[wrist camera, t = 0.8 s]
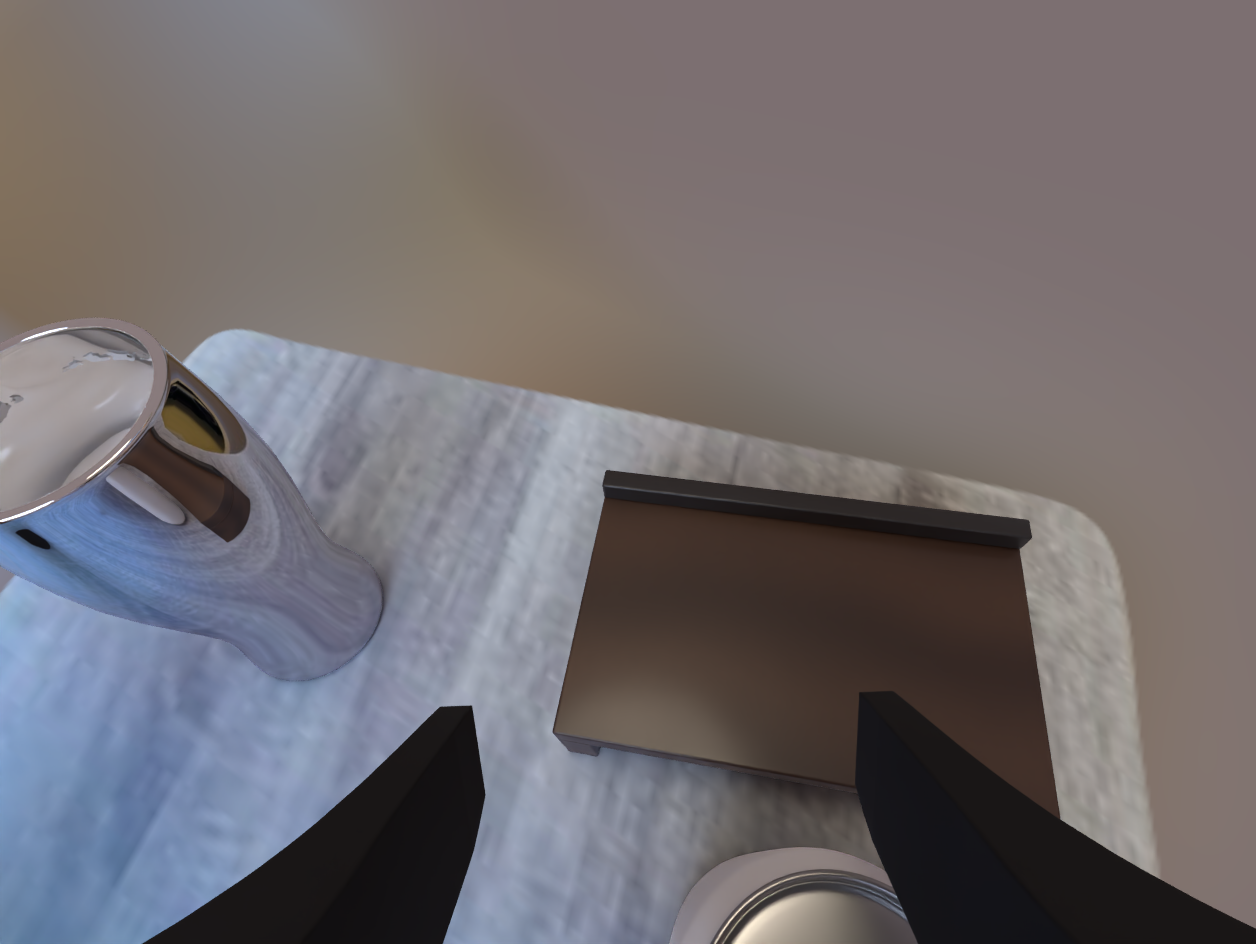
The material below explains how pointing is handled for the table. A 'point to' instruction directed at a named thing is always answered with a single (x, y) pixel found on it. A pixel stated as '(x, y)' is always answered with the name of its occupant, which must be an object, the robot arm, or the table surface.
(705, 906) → the can
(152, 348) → the beer glass
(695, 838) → the table surface
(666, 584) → the desk shelf
